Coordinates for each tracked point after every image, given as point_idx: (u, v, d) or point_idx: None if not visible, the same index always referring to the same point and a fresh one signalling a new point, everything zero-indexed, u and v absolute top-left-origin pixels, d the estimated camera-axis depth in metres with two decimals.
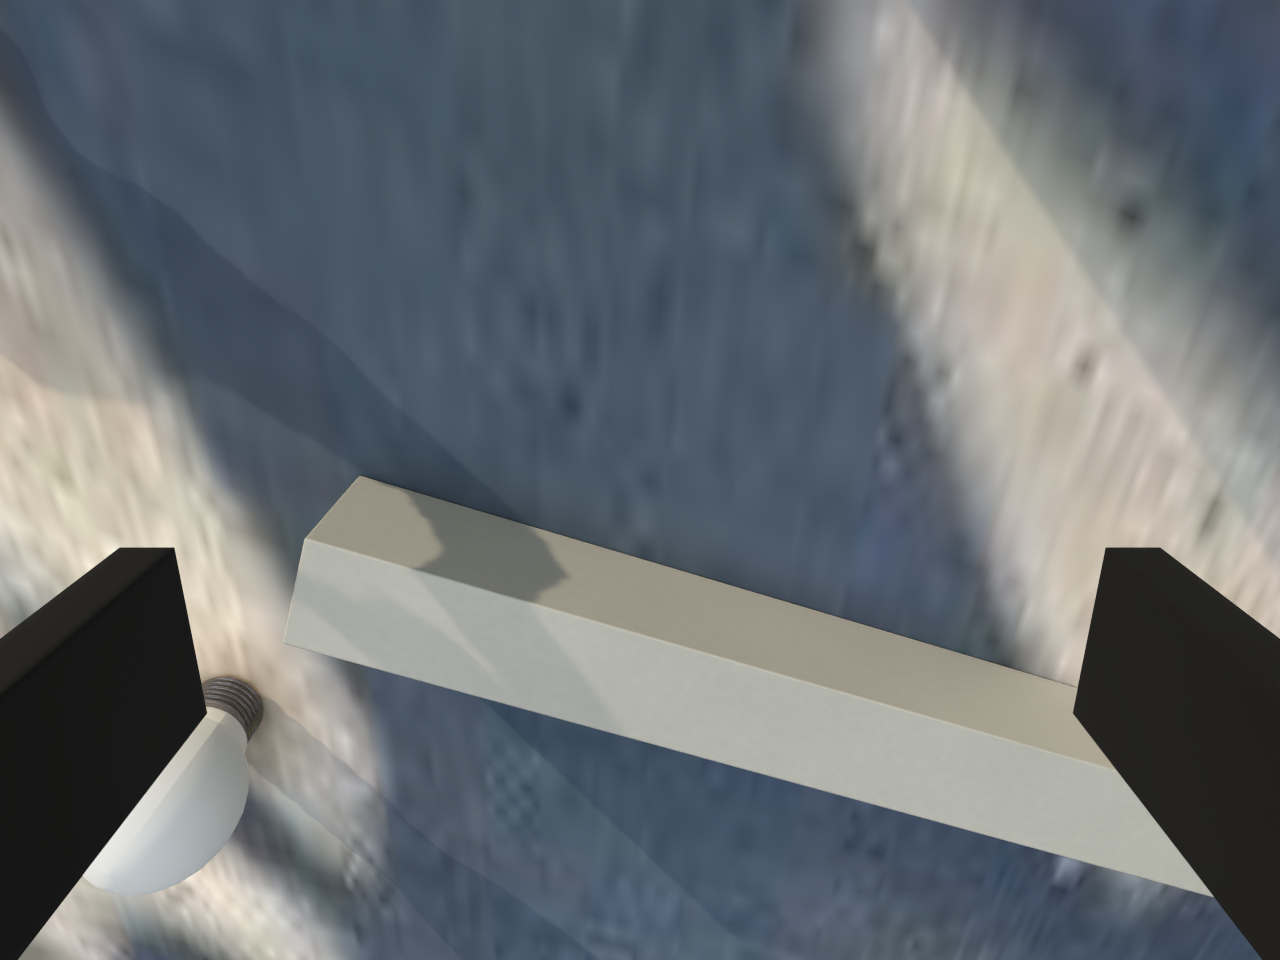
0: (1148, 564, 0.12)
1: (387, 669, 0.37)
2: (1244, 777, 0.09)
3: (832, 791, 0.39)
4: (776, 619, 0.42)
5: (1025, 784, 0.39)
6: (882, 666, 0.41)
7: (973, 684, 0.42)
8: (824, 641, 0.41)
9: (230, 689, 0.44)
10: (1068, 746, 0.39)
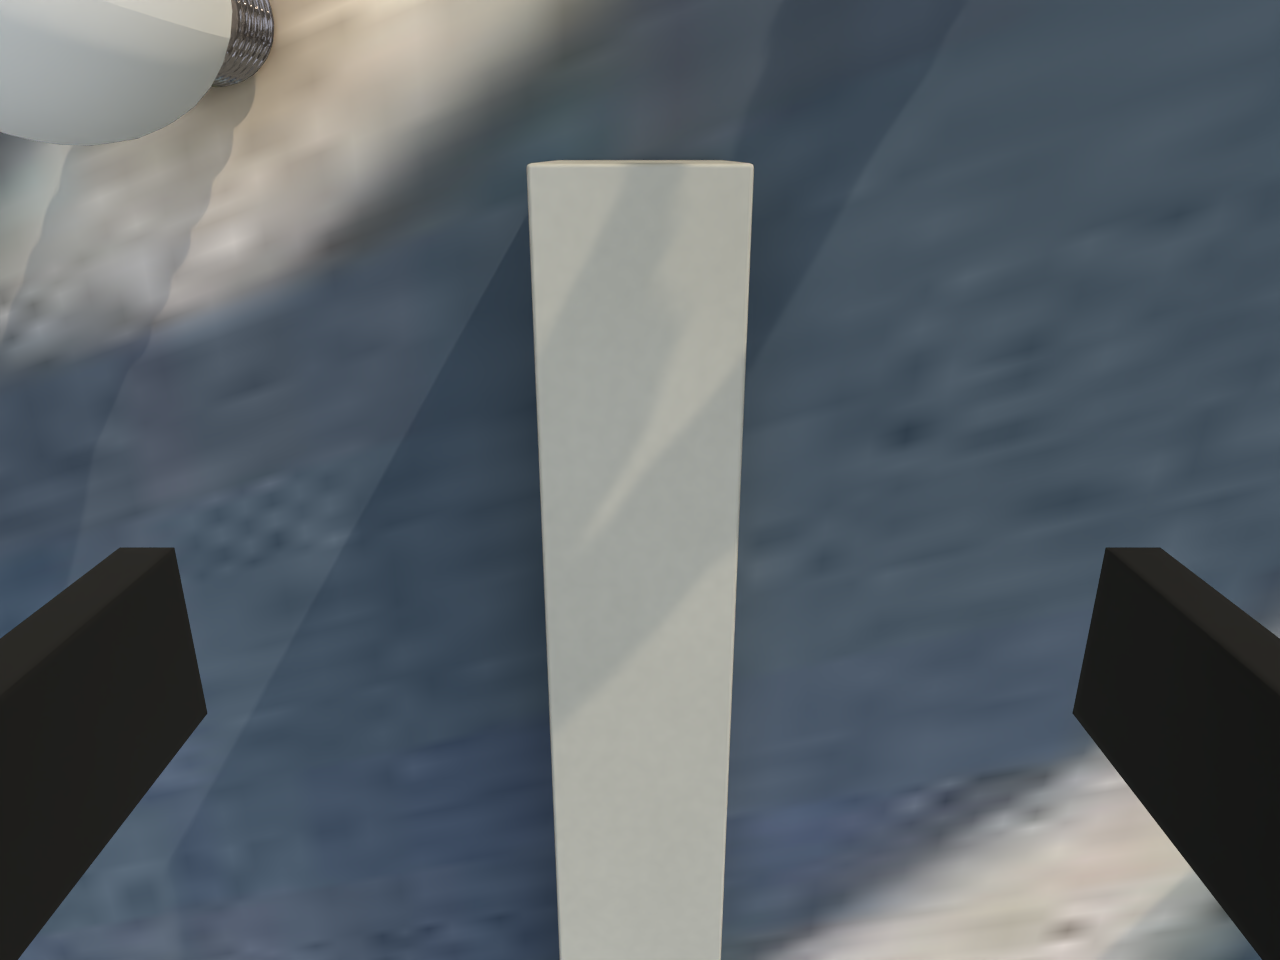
0: (1149, 564, 0.12)
1: (540, 362, 0.21)
2: (1245, 776, 0.09)
3: None
4: None
5: None
6: None
7: None
8: None
9: (260, 21, 0.24)
10: None
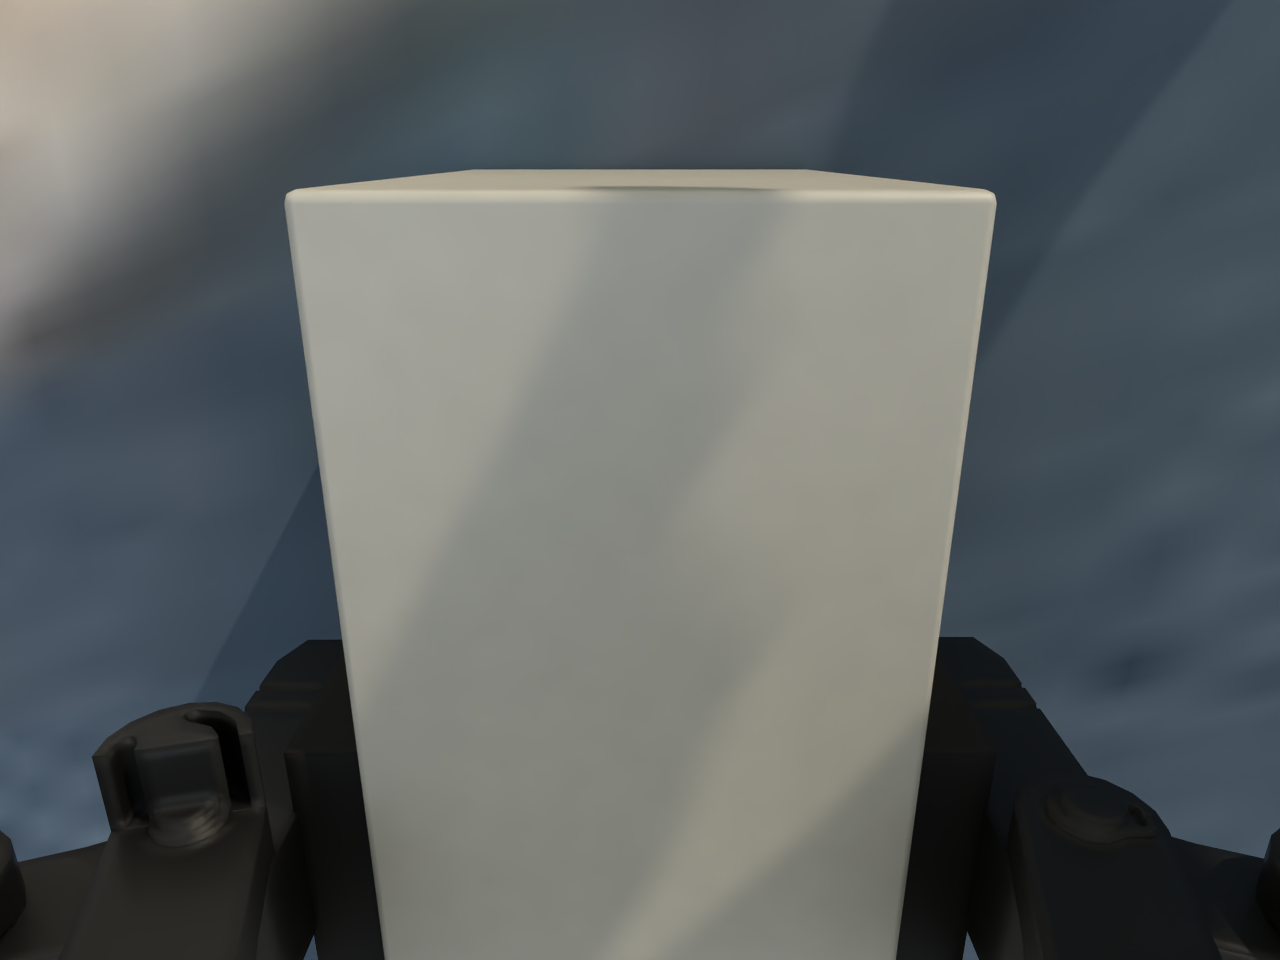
0: None
1: (367, 728, 0.08)
2: None
3: None
4: None
5: None
6: None
7: None
8: None
9: None
10: None
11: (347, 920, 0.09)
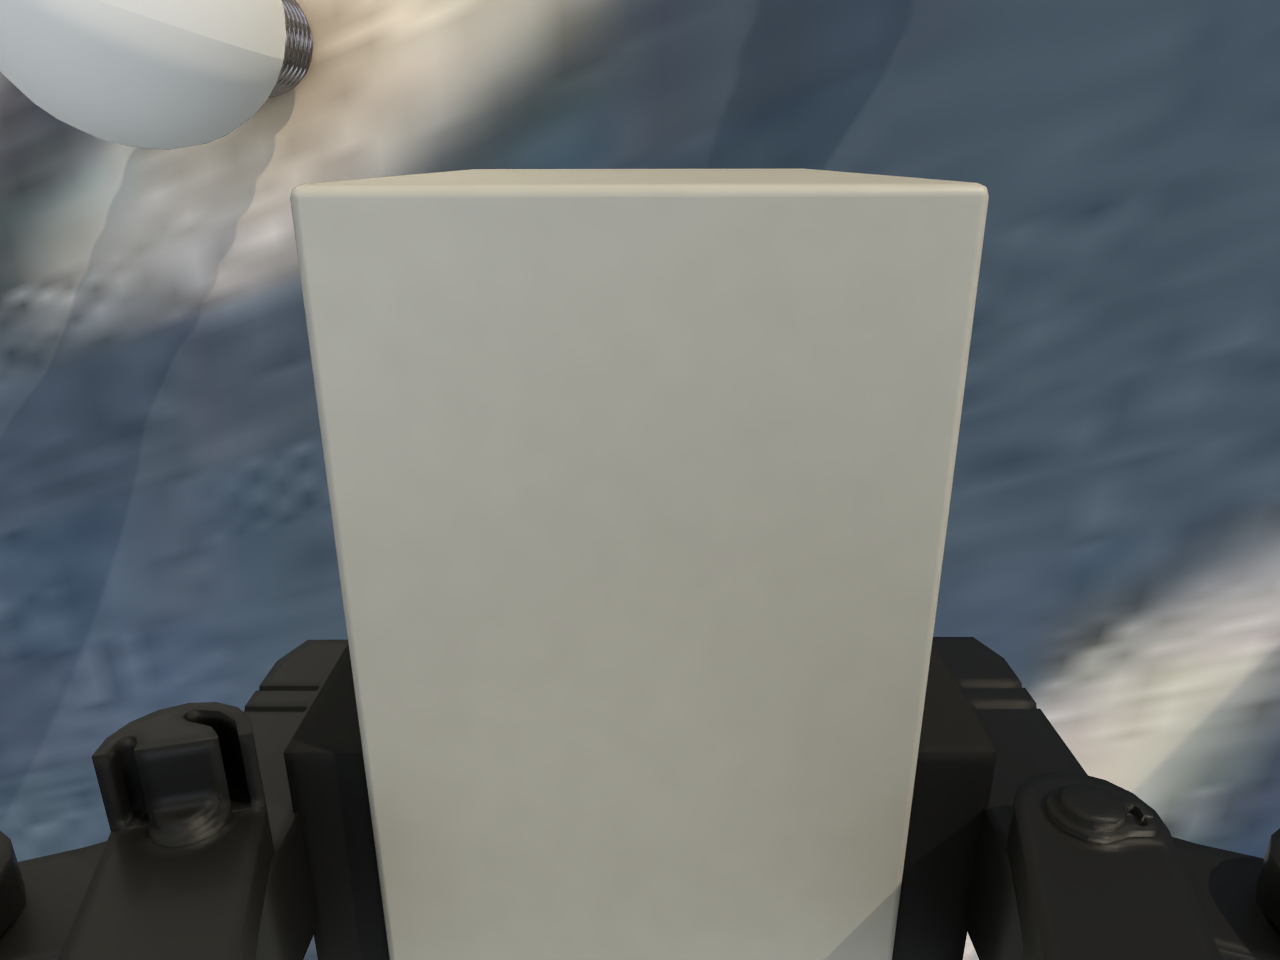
0: None
1: (369, 718, 0.08)
2: None
3: None
4: None
5: None
6: None
7: None
8: None
9: (302, 42, 0.28)
10: None
11: (346, 920, 0.09)
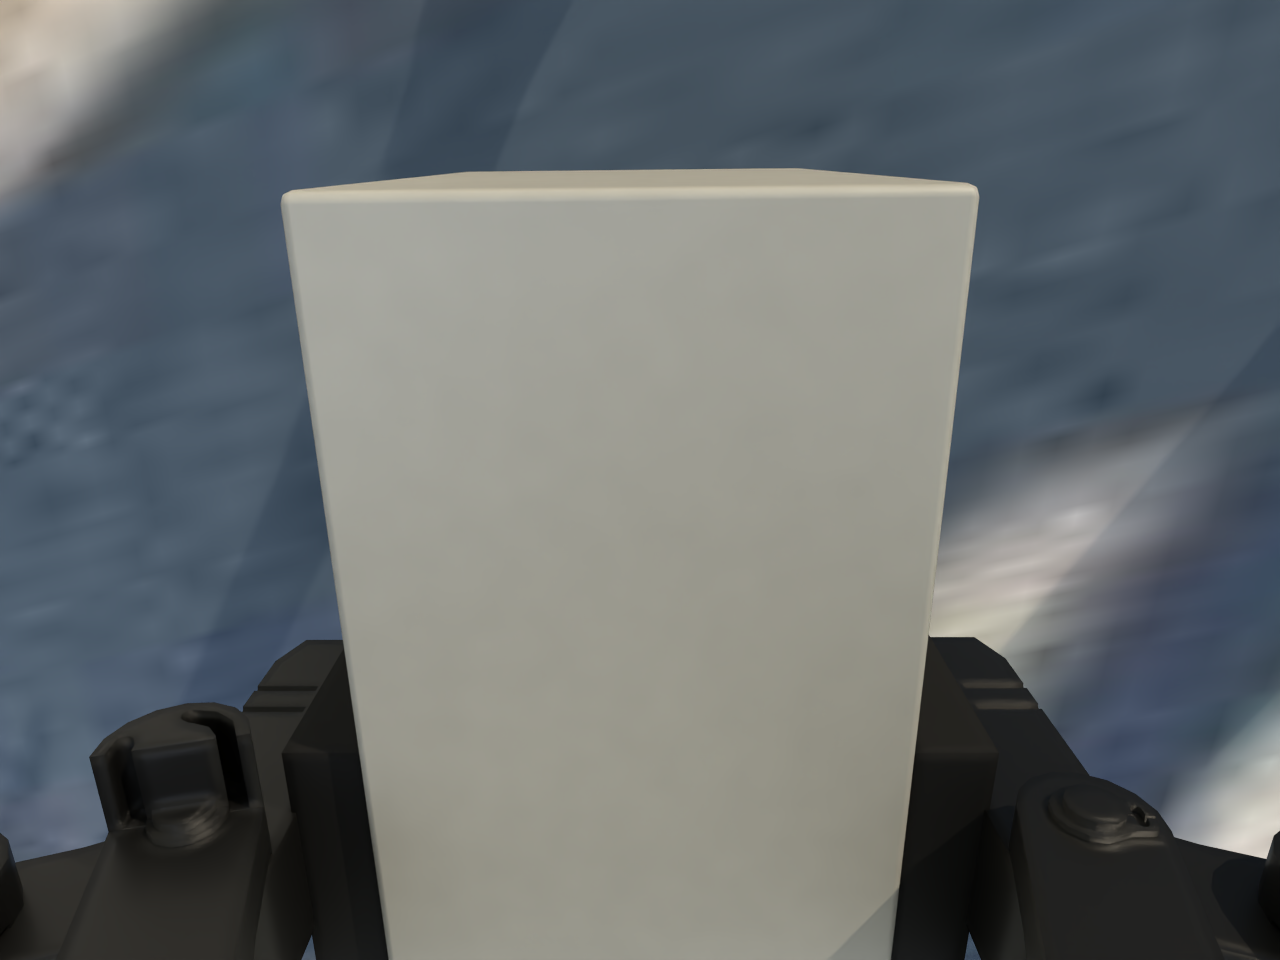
0: None
1: (366, 722, 0.08)
2: None
3: None
4: None
5: None
6: None
7: None
8: None
9: None
10: None
11: (345, 921, 0.09)
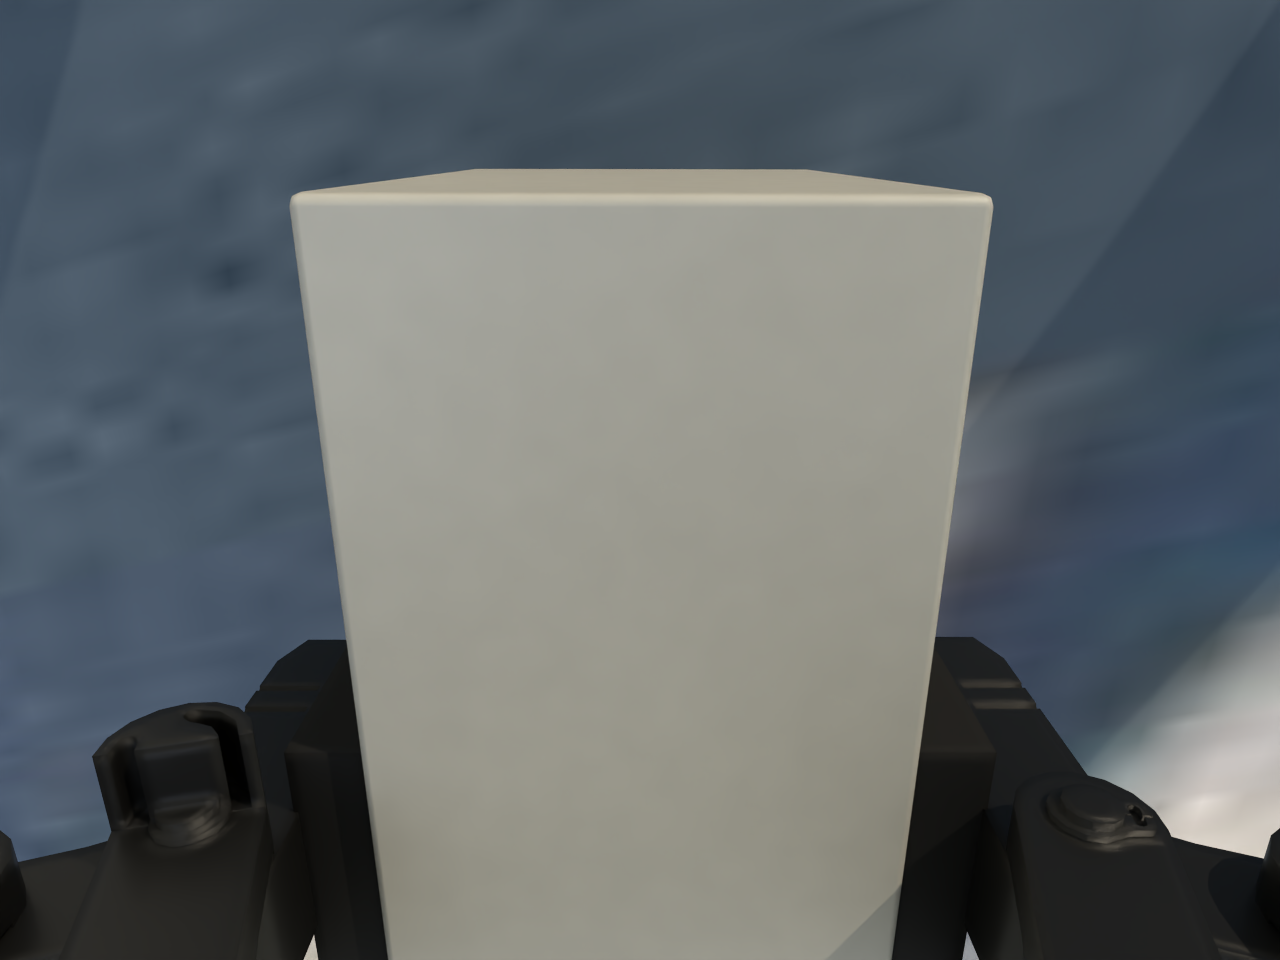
0: None
1: (370, 725, 0.08)
2: None
3: None
4: None
5: None
6: None
7: None
8: None
9: None
10: None
11: (347, 920, 0.09)
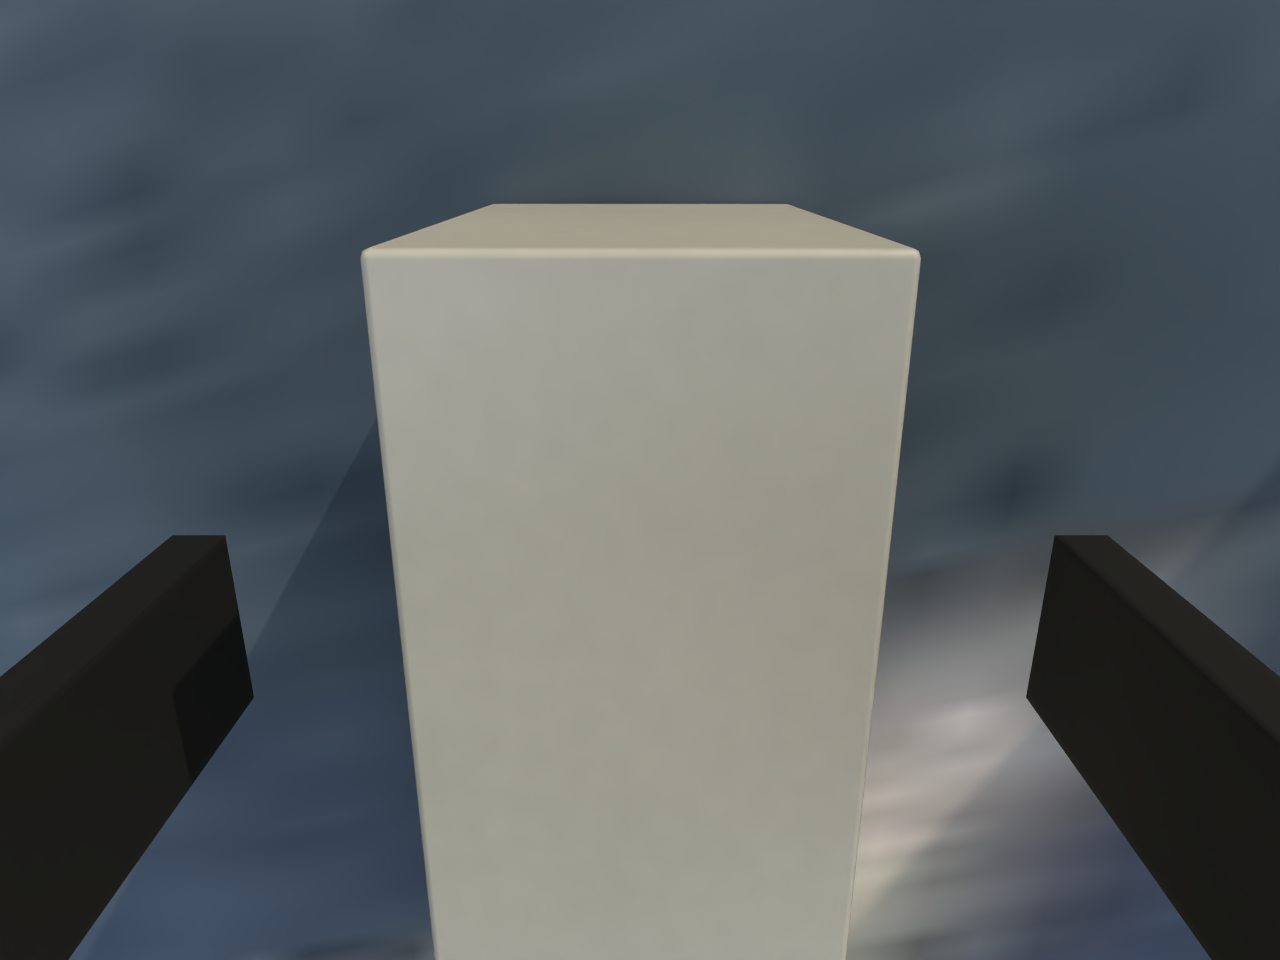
0: (1094, 551, 0.12)
1: (416, 680, 0.09)
2: (1173, 752, 0.10)
3: None
4: None
5: None
6: None
7: None
8: None
9: None
10: None
11: None
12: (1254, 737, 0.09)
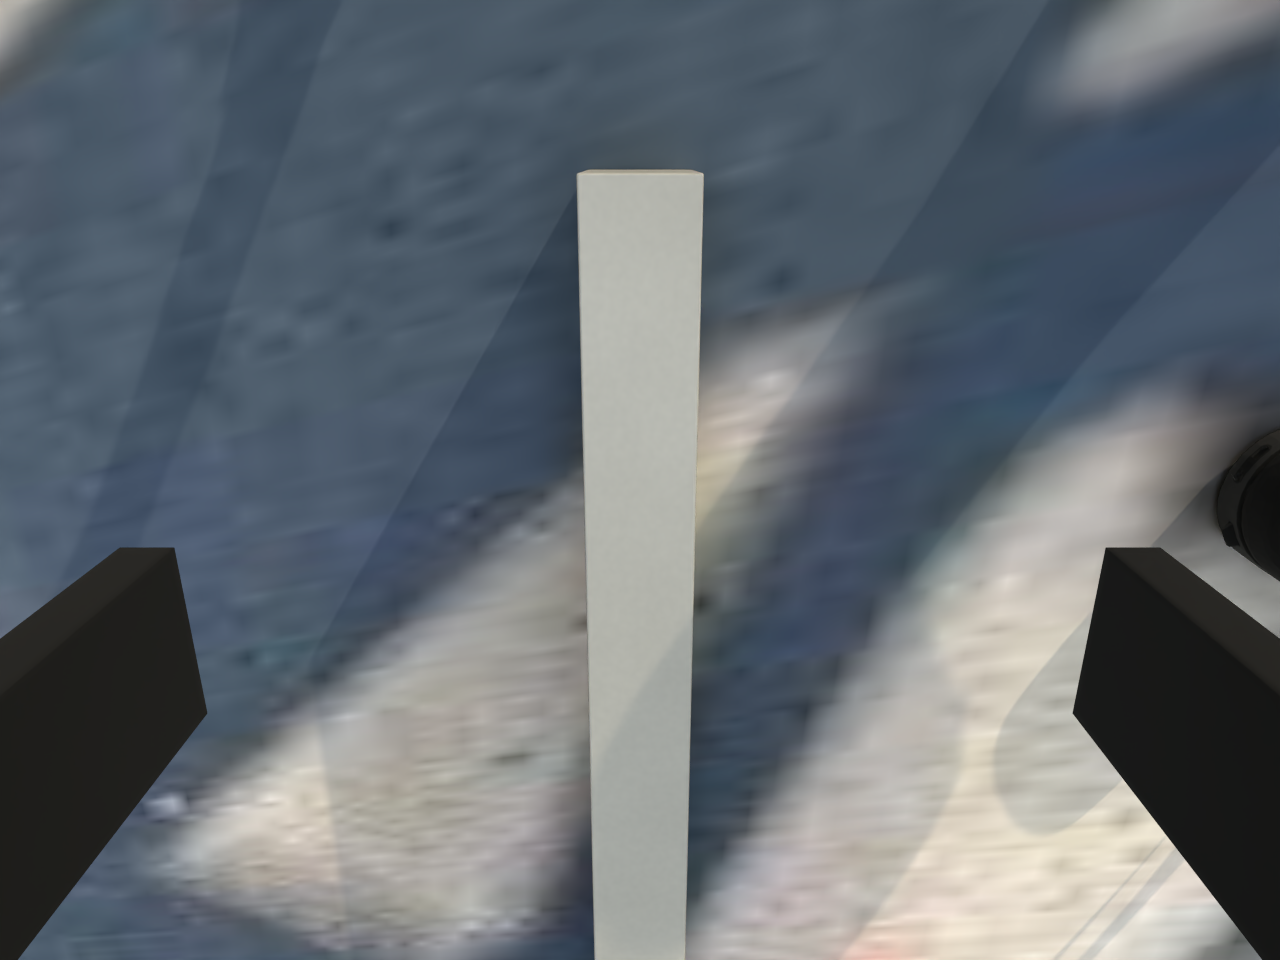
0: (1149, 564, 0.12)
1: (582, 287, 0.36)
2: (1244, 777, 0.09)
3: (591, 702, 0.43)
4: None
5: (651, 832, 0.46)
6: None
7: None
8: None
9: None
10: None
11: None
12: None
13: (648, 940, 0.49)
